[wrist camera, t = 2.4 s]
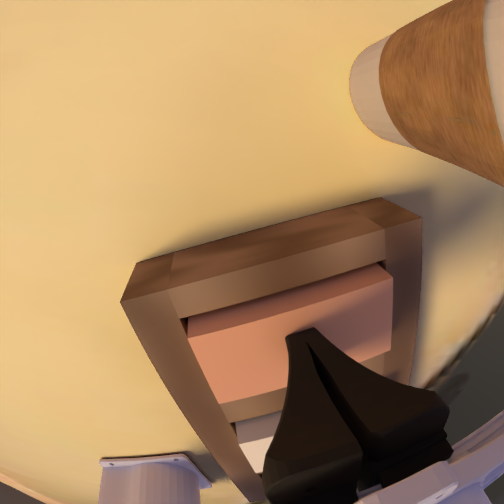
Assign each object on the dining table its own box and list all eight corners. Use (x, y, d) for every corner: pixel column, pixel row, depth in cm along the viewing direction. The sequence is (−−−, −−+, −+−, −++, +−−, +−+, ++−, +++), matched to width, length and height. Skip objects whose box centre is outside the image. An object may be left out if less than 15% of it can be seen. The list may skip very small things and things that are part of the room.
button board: (244, 470, 26) (249, 502, 22) (136, 263, 16) (120, 301, 12) (375, 429, 26) (390, 457, 23) (380, 197, 17) (422, 217, 13)
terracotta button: (214, 352, 17) (219, 404, 14) (189, 290, 16) (187, 338, 12) (359, 309, 18) (390, 350, 14) (354, 244, 16) (393, 277, 12)
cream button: (247, 429, 20) (255, 473, 17) (231, 395, 19) (238, 444, 15) (361, 393, 21) (383, 432, 17) (362, 354, 19) (389, 395, 15)
